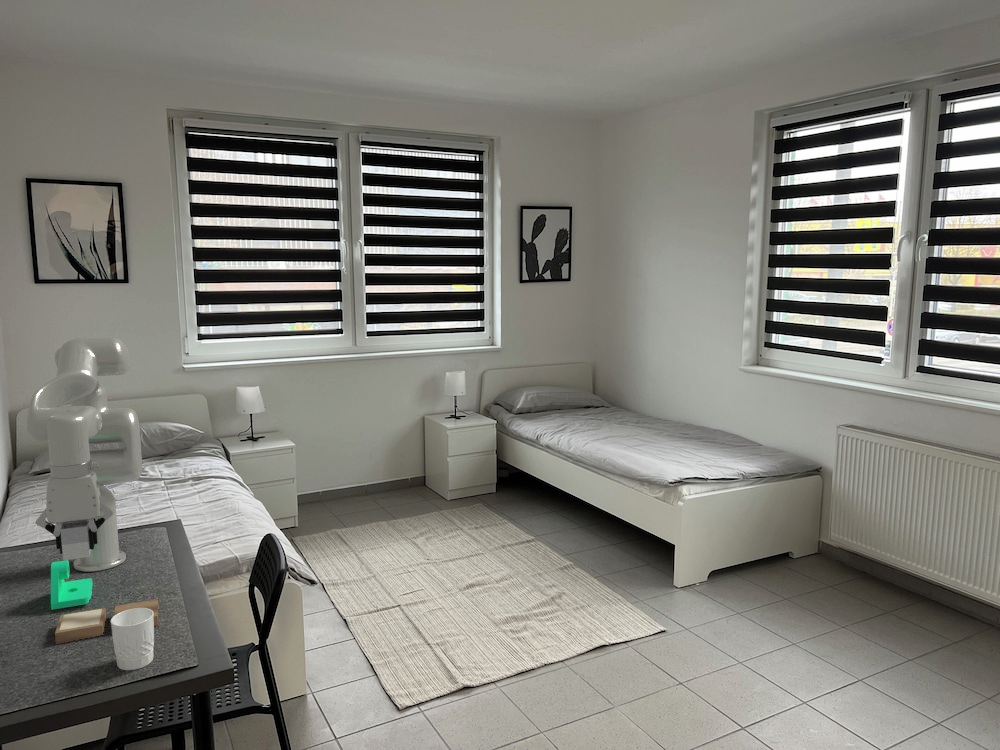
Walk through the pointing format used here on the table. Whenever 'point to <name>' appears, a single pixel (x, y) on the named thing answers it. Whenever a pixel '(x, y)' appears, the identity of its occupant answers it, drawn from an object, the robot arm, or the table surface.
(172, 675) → the table surface
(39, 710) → the table surface
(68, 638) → the stand
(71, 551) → the block
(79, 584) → the camera mount
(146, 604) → the stand
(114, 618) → the white cup
